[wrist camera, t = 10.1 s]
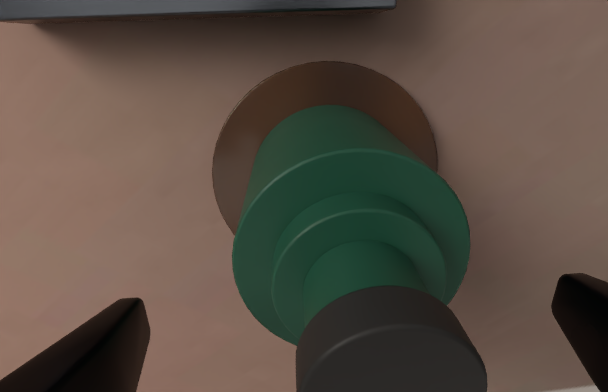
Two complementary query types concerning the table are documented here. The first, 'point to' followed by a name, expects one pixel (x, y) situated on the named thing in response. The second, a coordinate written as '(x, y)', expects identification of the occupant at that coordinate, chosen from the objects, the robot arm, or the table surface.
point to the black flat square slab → (176, 9)
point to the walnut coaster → (298, 96)
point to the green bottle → (356, 258)
